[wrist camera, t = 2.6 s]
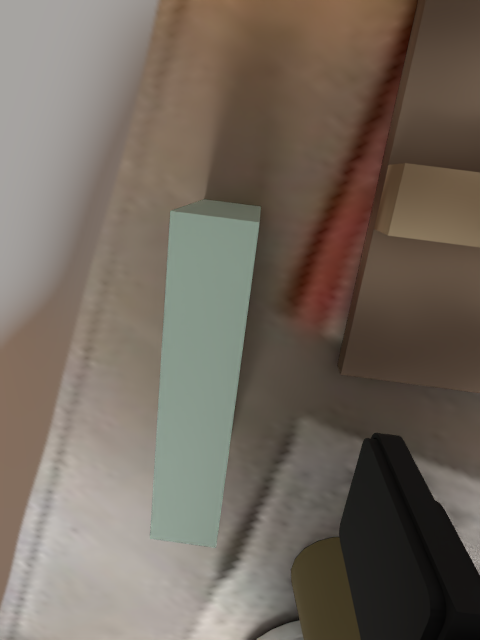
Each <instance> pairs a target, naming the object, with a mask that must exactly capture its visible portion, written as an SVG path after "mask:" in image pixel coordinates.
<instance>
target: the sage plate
mask: <svg viewBox="0 0 480 640" xmlns="http://www.w3.org/2000/svg"><path fill="white" fill-rule="evenodd" d="M260 212H261V206H253V205H245V204H237V203H230V202H222V201H214V200H207V199H203V200H201V201H198V202H195V203H192V204H189V205H186V206H183V207H180V208H177V209H175V210H172V211H170V226H169V242H168V258H167V274H166V290H165V306H164V322H163V338H162V354H161V370H160V386H159V402H158V418H157V434H156V450H155V466H154V482H153V498H152V514H151V530H150V539H156V540H163V541H170V542H177V543H185V544H192V545H199V546H206V547H214V548H216V544H217V537H218V529H219V522H220V514H221V507H222V499H223V492H224V485H225V477H226V470H227V462H228V455H229V447H230V440H231V432H232V425H233V417H234V410H235V403H236V395H237V388H238V380H239V373H240V365H241V358H242V350H243V343H244V335H245V328H246V321H247V313H248V306H249V298H250V291H251V283H252V276H253V268H254V261H255V254H256V246H257V239H258V231H259V224H260Z"/></svg>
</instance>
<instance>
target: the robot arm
mask: <svg viewBox="0 0 480 640" xmlns="http://www.w3.org/2000/svg"><path fill="white" fill-rule="evenodd" d="M339 537H340V544H341V549H342V553H343V558H344V563H345V567H346V572H347V577H348V582H349V586H350V591H351V596H352V600H353V605H354V610H355V614H356V619H357V624H358V628H359V633H360V638H361V640H480V575H479V573H478V571H477V570H476V568H475V566H474V564H473V562H472V560H471V558H470V556H469V555H468V553H467V551H466V549H465V547H464V545H463V543H462V541H461V540H460V538H459V536H458V534H457V532H456V530H455V528H454V526H453V525H452V523H451V521H450V519H449V517H448V515H447V513H446V512H445V510H444V508H443V507H442V506H441V504H440V503H438V502H437V501H435V500H434V498H433V496H432V494H431V492H430V490H429V488H428V486H427V485H426V483H425V481H424V479H423V477H422V475H421V473H420V471H419V469H418V467H417V465H416V463H415V462H414V460H413V458H412V456H411V454H410V452H409V450H408V448H407V446H406V444H405V442H404V440H403V439H402V437H400V436H396V435H389V434H381V433H374V434H373V435H372V437H371V439H369V438H366V439H364V441H363V444H362V448H361V451H360V455H359V458H358V462H357V466H356V469H355V473H354V476H353V480H352V483H351V487H350V491H349V494H348V498H347V501H346V505H345V509H344V512H343V516H342V519H341V523H340V530H339ZM256 640H304V639H303V634H302V629H301V624H300V620H298V621H294V622H290V623H287V624H284V625H282V626H279V627H277V628H274V629H272V630H270V631H269V632H267V633H265V634H264V635H262V636H261V637H259V638H258V639H256Z"/></svg>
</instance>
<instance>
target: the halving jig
mask: <svg viewBox="0 0 480 640" xmlns="http://www.w3.org/2000/svg"><path fill="white" fill-rule="evenodd" d="M337 366H338V368H339V371H340V373H341V375H347V376H354V377H362V378H369V379H377V380H384V381H392V382H399V383H407V384H414V385H422V386H429V387H437V388H444V389H452V390H459V391H467V392H474V393H480V0H418V4H417V8H416V13H415V17H414V22H413V26H412V31H411V35H410V40H409V44H408V49H407V53H406V58H405V62H404V67H403V71H402V76H401V80H400V85H399V89H398V94H397V98H396V103H395V107H394V112H393V116H392V121H391V125H390V130H389V134H388V139H387V144H386V148H385V153H384V157H383V162H382V166H381V171H380V175H379V180H378V184H377V189H376V193H375V198H374V202H373V207H372V211H371V216H370V220H369V225H368V229H367V234H366V238H365V243H364V247H363V252H362V256H361V261H360V265H359V270H358V274H357V279H356V283H355V288H354V292H353V297H352V302H351V306H350V311H349V315H348V320H347V324H346V329H345V333H344V338H343V342H342V347H341V351H340V356H339V360H338V365H337Z"/></svg>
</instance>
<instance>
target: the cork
mask: <svg viewBox="0 0 480 640" xmlns="http://www.w3.org/2000/svg"><path fill="white" fill-rule="evenodd" d="M291 582H292V587H293V592H294V596H295V601H296V606H297V610H298V615H299V620H300V624H301V629H302V634H303V639H304V640H361V638H360V633H359V628H358V624H357V619H356V614H355V610H354V605H353V600H352V596H351V591H350V586H349V582H348V577H347V572H346V567H345V563H344V558H343V553H342V549H341V544H340V537H332V538H328V539H324V540H321V541H317V542H316V543H314V544H312V545H310V546H308V547H307V548H305V549H304V550H303V551H302V552H301V553H300V554H299V555H298V556H297V557H296V559H295V561H294V563H293V566H292V568H291Z"/></svg>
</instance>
